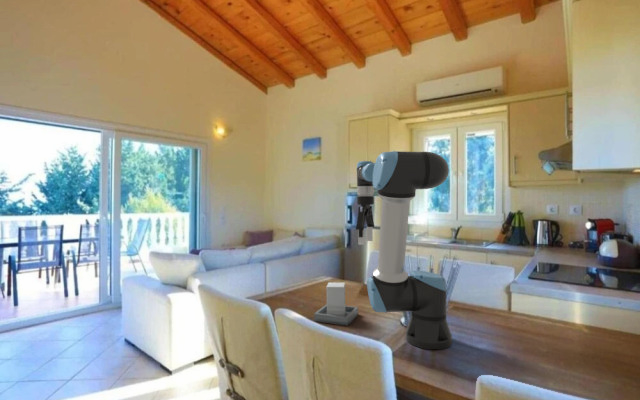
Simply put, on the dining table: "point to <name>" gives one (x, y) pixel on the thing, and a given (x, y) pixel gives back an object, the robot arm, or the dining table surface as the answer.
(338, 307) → the supplement box
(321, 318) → the holder tray
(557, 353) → the dining table surface
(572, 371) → the dining table surface
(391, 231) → the robot arm
